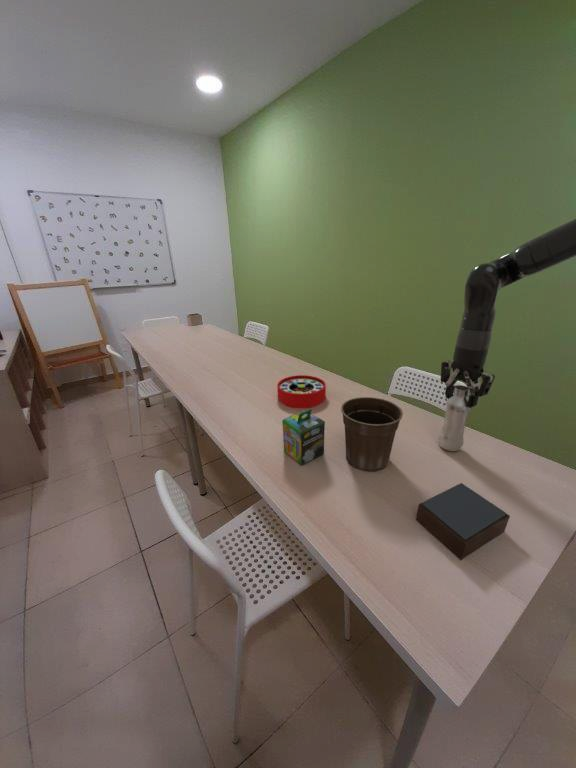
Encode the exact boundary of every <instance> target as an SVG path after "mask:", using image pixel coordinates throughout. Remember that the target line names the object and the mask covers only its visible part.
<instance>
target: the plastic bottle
mask: <svg viewBox="0 0 576 768" xmlns="http://www.w3.org/2000/svg"><path fill="white" fill-rule="evenodd" d="M454 386H455V388H454V391H453V395H452V396H451V397H450V398H449V399H448V398H447V400H446V402H445V412H444V419H443V420H444V421H443V424H442V427H441V431H440V432H439V435H438V437H437V442H438V445H439V446H440V447H441V448H442V449H444V450H445V451H448V452H458V451H459V450H461V449H462V447H463V445H464V433H465V426H466V424H467V420H468V418H469V416H470V414H471V411H472V409H473V407H472V408H468V407H467V404H468V400H469V396H470V390H469V388H468V387H467V385H461V384H457V385H454Z"/></svg>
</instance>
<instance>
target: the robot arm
mask: <svg viewBox="0 0 576 768" xmlns="http://www.w3.org/2000/svg"><path fill="white" fill-rule="evenodd" d="M575 257H576V218H575V219H572V220H570V221H568V222H565V223H563V224H561V225H559V226H557V227H555V228H553V229H550V230H549V231H547V232H545V233H543V234H541V235H538V236H537V237H535V238H532V239H531V240H528V241H526V242H524V243H523V244H521V245H520V246H518V247H516V248H515V249H514V250H513V251H511V252H509V253H507V254H505V255H503V256H501V257H499V258H496V259H494V260H492V261H489V262H485V263H480V264H478V265H476V266H475V267H474V268H473V269H471V270H470V271H469V273H468V276H467V277H466V281H465V286H464V300H463V303H464V305H463V307H464V309H463V313H462V317H461V322H460V327H459V330H458V333H457V337H456V340H455V341H456V342H455V345H454V352H453V356H452V360H453V361H450V360H446V361H443V362H441V368H440V382H441V383H444V385H445V391H444V396H445V398H446V399H447V400H448V399H449V398H450V397H451V396H452V395H454V393H453V391H454V388H455V386H456V385H455V384H456V383H457V382H458V381H462V382H464V383H465V384H466V387H468V388H469V390H470V391H469V396H468V398H469V400H468V404H467V407H468V408H472V409H473V408H475V407H476V406H477V405H478V401H479V397H483V396H487V395H488V394H489V392H490V390H491V387H492V386H493V383H494V380H495V378H496V375H495V374H489V373H486V372H485V369H484V366H485V365H486V361H487V357H488V353H489V349H490V345H491V340H492V336H493V335H492V334H493V328H494V324H495V320H496V316H497V315H496V314H497V307H496V306H495V305H496V300H497V296H498V291H499V290H501V289H503V288H505V287H507V286H510V285H512V284H513V283H516V282H519V281H520V280H522V279H524V278H526V277H530V276H532V275H536V274H538V273H541V272H543V271H545V270H548V269H550V268H553V267H555V266H558V265H559V264H562V263H564V262H567V261H569V260H571V259H574V258H575ZM451 370H452V373H451ZM480 378H481V379H480ZM480 380H481V382H480Z"/></svg>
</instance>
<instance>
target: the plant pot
mask: <svg viewBox="0 0 576 768" xmlns="http://www.w3.org/2000/svg"><path fill="white" fill-rule="evenodd" d="M340 412H341V414H342V422H343V424H344V438H345V439H344V441H345V458H346V460H347V461H348V462H349V463H350V465H351V466H352V467H354V468H356V469H359V470H362V471H367V472H377V471H378V470H380V469H382V470H384V468H386V467H387V466H388V464H389V462H390V456H391V454H392V453H391V452H392V448H393V445H394V441H395V437H396V432H397V431H398V429H399V425H400V422H401V421H402V419H403V415H404V413H403V410H402V409H401V407H400V406H399V405H398V404H396V403H394V402H392V401H389V400H388V399H384V398H379V397H373V396H362V397H353V398H350V399H347V400H346V401H344V402H343V403H342V405H341V406H340Z"/></svg>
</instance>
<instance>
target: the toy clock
mask: <svg viewBox="0 0 576 768" xmlns="http://www.w3.org/2000/svg"><path fill="white" fill-rule="evenodd" d="M326 388H327V384H326V382H325V380H324V379H322V378H320V377H318V376H313V375H307V374H306V375H305V374H299V375H291V376H286V377H284V378H282V379H280V380H279V381H278V382H277V401H278V402H279V403H280V404H282V405H283V406H285V407H289V408H294V409H311V408H314V407H317V406H320V405H321V404H323V403H324V402H325V400H326V398H327V397H326V395H327V394H326V393H327V391H326V390H327V389H326Z"/></svg>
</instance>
